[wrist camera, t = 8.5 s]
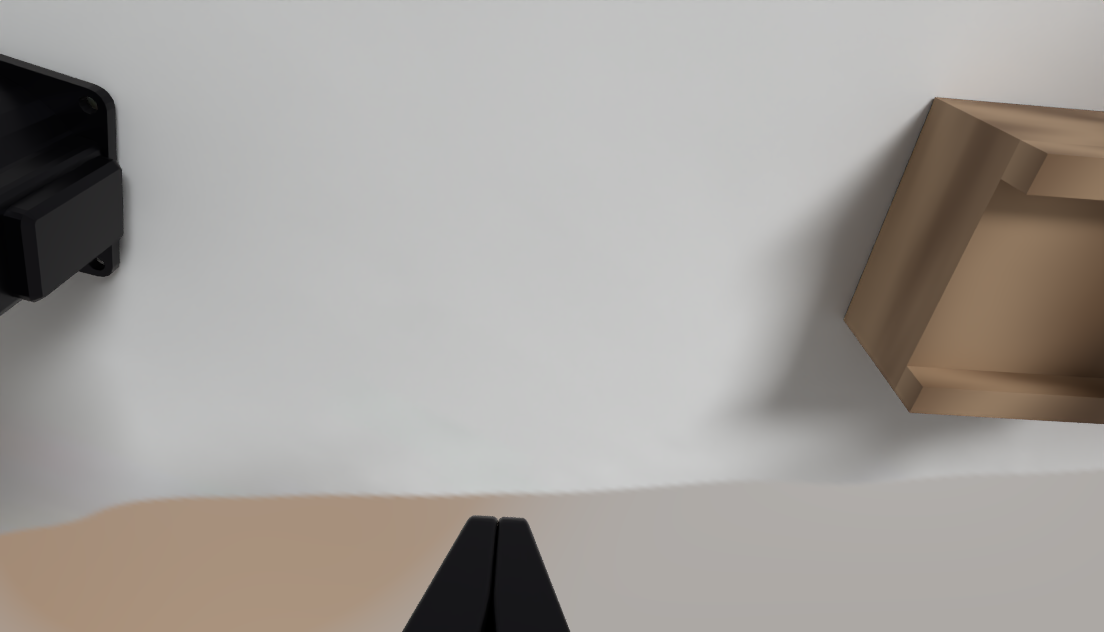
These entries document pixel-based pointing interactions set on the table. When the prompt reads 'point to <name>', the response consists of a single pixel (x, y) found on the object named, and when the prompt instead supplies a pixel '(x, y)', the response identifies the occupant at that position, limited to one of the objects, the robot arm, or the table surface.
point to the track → (993, 267)
